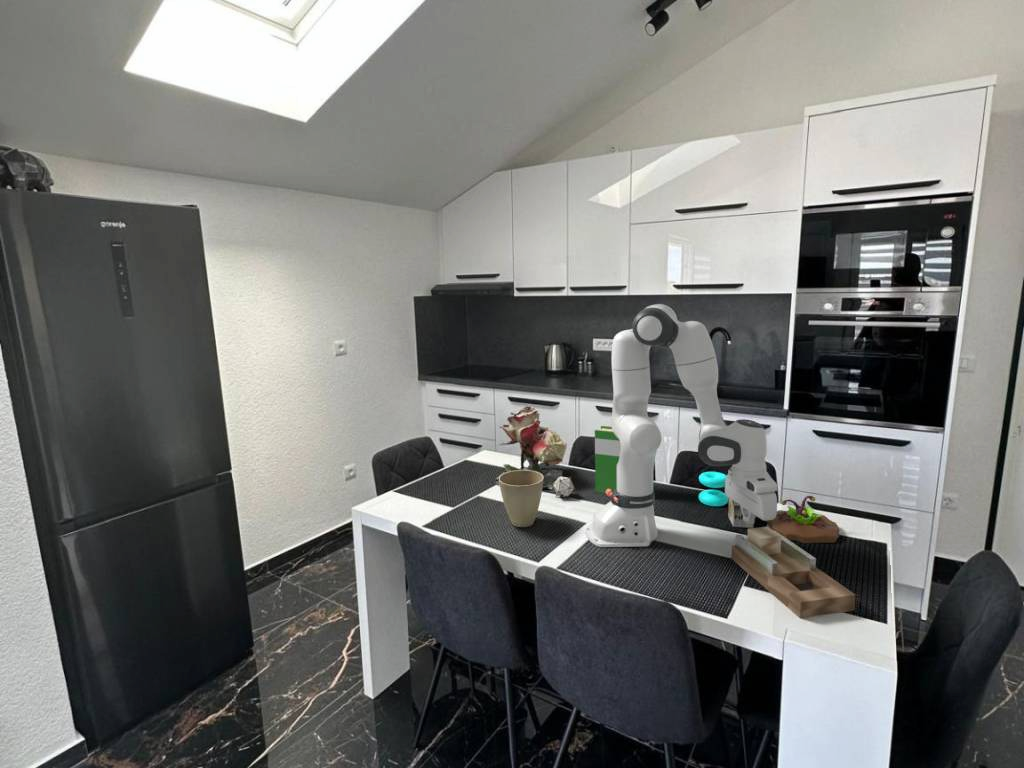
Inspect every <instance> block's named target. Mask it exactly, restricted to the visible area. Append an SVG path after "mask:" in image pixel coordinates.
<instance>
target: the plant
mask: <svg viewBox="0 0 1024 768" xmlns="http://www.w3.org/2000/svg"><path fill="white" fill-rule="evenodd" d="M807 499H809V500H810V501H811V502H815V501H816V497H814V496H813V495H806V496H805V497H804V498H803V500H802V501H801V503H800V504H801V505H799V504H798V503H797V502H796V501H794V500H792V499H786V500H783V501H782V502H781V505H783V506H786V504H787V502H790V503H793V506H795V508H794V507H792V506H790V505H788V506H787V509H788V510H781V509H779V510H778V509H777V514H776V517H775V518H774V519H773V520H766V521H765V523H766V524H767V525H768V527H769V528H770V529H772V530H773V531H776V532H778V533H779V534H780V535H782V536H783V537H785V538H786V539H788V540H789V541H795V542H800V543H803V544H824V543H825V544H826V543H827V544H828V543H829V544H830V543H836V542H837V539H838V538H840V526H839V525H838V524H837V523H836V522H835V521H833V520H830V519H829V518H828V517H827V516H825V515H823V514H820V513H817V512H815V510H814V509H812V508H811V507H810V506H807V507H806V502H807Z"/></svg>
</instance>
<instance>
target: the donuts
mask: <svg viewBox="0 0 1024 768" xmlns="http://www.w3.org/2000/svg"><path fill="white" fill-rule="evenodd" d="M726 476H727V474H724V473H722V472H717V471H706V472H705V471H704V472H702V473H701V474H700V475H699V476H698V481H699V482H700V484H702V485H703V486H705V487H708V488H712V489H705V490H702V491H701V492H699V494H698V500H699V501H700V503H702V504H703V505H706V506H710V507H723V506H725V505H726V504H728V500H729V497H728V496H726V493H725V492H723V491H721V490H718V489H720V488H725V481H726Z"/></svg>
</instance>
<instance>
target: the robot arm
mask: <svg viewBox="0 0 1024 768" xmlns="http://www.w3.org/2000/svg"><path fill="white" fill-rule="evenodd" d="M651 347H662V348H668V347H669V348H670V349H671V352H672V355H673V359H674V363H675V368H676V372H677V374H678V378H679V379H680V381H681V382H680V383H681V384H682V386H683V387H684V389H686V390H687V391H689V393H691V394H692V396H693V398H694V400H695V402H696V403H695V404H696V407H697V411H698V415H699V420H700V430H699V434H698V446H697V454H698V456H699V458H700V460H702V462H703V463H704V464H706V465H709V466H710V467H711V466H712V467H727V466H731V467H730V468H729V469H728V471H727V472H728V473H727V474H726V481H725V486H724V493H725V494H726V496H728V499H729V498H730V499H732V500H733V501H735V502H736V503H738V504H739V505H740V508H741V511H742V514H743V520H744V521H745V522H747V523H748V524H754V525H755V519H756V517H757V518H759V519H760V520H762V521H763V522H764V521H765V522H766V520H773V519H774V518H775V517H776V514H777V511H778V498H777V494H776V492H777V491H778V489H779V487H778V484H777V482H776V481H775V480H774V479H773V478H772V477H771V475H770V474H769V472H768V471H767V463H766V456H767V452H768V451H767V450H768V448H767V443H768V442H767V434H766V430H765V428H764V427H763V425H762V424H761V423H759V422H757V421H754V420H752V419H744V418H743V419H737V420H735V421H734V422H732V423H731V424H729V425H728V424H727V423H726V421H725V419H724V417H723V414H722V409H721V407H720V406H721V405H720V401H719V398H718V390H717V389H718V383H719V365H718V361H717V360H718V359H717V355H716V351H715V347H714V344H713V341H712V339H711V336H710V334H709V331H708V329H707V327H706V326H705V324H704V323H702V322H699V321H695V320H688V321H680V320H679V314H678V313H677V311H676V310H675V309H674V307H672V306H671V305H669V304H667V303H656V304H651V305H648V306H646V307H644V309H642V310H640V311H639V312H638V313H637V314H636V316H635V317H634V318H633V322H632V328H630V329H625V330H622V331H619V332H618V333H616V334H615V336H614V337H613V339H612V345H611V374H612V387H613V388H612V389H613V395H612V396H613V401H612V413H611V421H610V423H611V424H610V425H611V427H612V430H613V432H614V434H615V436H616V437H617V438H618V439H619V440H620V443H621V452H620V457H619V462H618V463H617V488H616V490H615V491H614V492H613V491H612V490H611V489H607V491H606V493H605V494H606V495H607V497H610V500H609V502H608V503H606V504H604V505H603V506H602V507H601V508H599V509H598V510H596V512H594V515H593V517H592V523H591V524H588V525H587V526H585V528H584V529H585V531H584V532H585V533H584V534H585V536H586V538H587V539H588V541H590V542H591V543H592V544H593V545H595V546H596V547H599V548H624V547H626V548H629V547H631V548H632V547H634V548H635V547H649V546H650V545H651V543H652V542H653V541H654V540H656V539H657V538H658V537H659V532H658V528H657V524H656V518H655V511H654V510H655V509H654V508H655V504H656V498H655V490H654V468H655V467H654V466H655V462H656V461H655V460H656V457H657V456H656V455H657V452H658V449H659V448H660V447H661V443H662V434H661V431H660V428H659V426H658V425H657V423H656V421H654V420H652V419H651V418H650V417H649V415H648V405H649V399H650V396H651V393H652V386H651V385H652V381H651V368H650V367H651V366H650V365H651V364H650V349H651Z"/></svg>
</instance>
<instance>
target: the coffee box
mask: <svg viewBox="0 0 1024 768" xmlns="http://www.w3.org/2000/svg"><path fill="white" fill-rule="evenodd" d="M728 499H729V500H728V503H727V504H728V506H727V509H728V511H727V512H728V513H727V516H728V519H729V521H730V523H731V525H732V527H733V528H734V527H735V528H747V529H750V528H754V525H755V523H754V524H748V523H747V522H745V521H744V520H743V514H742V511H741V508H740V505H739V504H738V503H736V502H735V501H733V500H732V499H730V498H729V497H728Z"/></svg>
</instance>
